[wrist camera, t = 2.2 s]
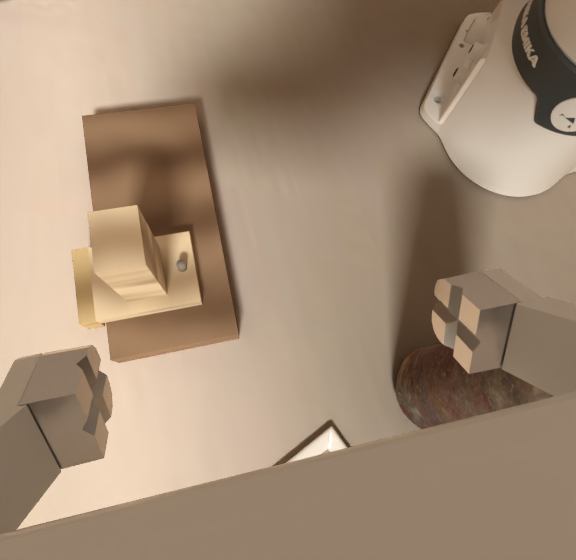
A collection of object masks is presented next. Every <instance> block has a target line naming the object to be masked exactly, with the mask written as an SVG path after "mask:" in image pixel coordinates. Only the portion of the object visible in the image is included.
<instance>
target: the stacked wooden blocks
mask: <svg viewBox="0 0 576 560" xmlns="http://www.w3.org/2000/svg"><path fill="white" fill-rule="evenodd" d="M88 220H89V229H90V238H91V247H88V248H82V249H76V250H72V258H73V268H74V277H75V287H76V297H77V307H78V317H79V324H80V325H82V326H84V327H87V328H89V329H93V328H98V327H103V326H105V323H107V322H112V321H117V320H122V319H128V318H133V317H138V316H144V315H149V314H154V313H160V312H165V311H170V310H176V309H181V308H186V307H191V306H197V305H202V299H201V293H200V287H199V282H198V276H197V270H196V264H195V259H194V253H193V247H192V241H191V236H190V233H189V231H187V232H181V233H175V234H169V235H163V236H157V237H154V236H153V234H152V232H151V230H150V228H149V226H148V224H147V222H146V221H145V219H144V217H143V215H142V213H141V211H140V209H139V207H138V206H137V205H133V206H127V207H120V208H113V209H106V210H100V211H93V212H88Z"/></svg>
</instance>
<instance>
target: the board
mask: <svg viewBox="0 0 576 560" xmlns="http://www.w3.org/2000/svg"><path fill="white" fill-rule="evenodd" d="M82 120H83V128H84V137H85V145H86V154H87V163H88V171H89V180H90V188H91V197H92V205H93V211H100V210H106V209H113V208H120V207H127V206H133V205H137V206H138V207H139V209H140V211H141V213H142V215H143V217H144V219H145V221H146V222H147V224H148V226H149V228H150V230H151V232H152V234H153V236H154V237H157V236H163V235H169V234H175V233H181V232H187V231H189V233H190V236H191V241H192V247H193V253H194V259H195V264H196V270H197V276H198V282H199V287H200V293H201V299H202V305H197V306H191V307H186V308H181V309H176V310H170V311H165V312H160V313H154V314H149V315H144V316H138V317H133V318H128V319H122V320H117V321H112V322H107V323H106V325H107V334H108V342H109V351H110V359H111V360H112V361H115V362H119V363H120V362H125V361H130V360H135V359H140V358H145V357H150V356H155V355H160V354H165V353H170V352H175V351H179V350H184V349H189V348H194V347H199V346H204V345H209V344H214V343H219V342H224V341H229V340H234V339H239V333H238V328H237V323H236V318H235V312H234V307H233V302H232V297H231V291H230V286H229V281H228V276H227V271H226V265H225V260H224V255H223V250H222V244H221V239H220V234H219V229H218V223H217V218H216V213H215V208H214V202H213V197H212V192H211V187H210V181H209V176H208V171H207V166H206V161H205V155H204V150H203V145H202V140H201V134H200V129H199V124H198V119H197V113H196V108H195V103H190V104H181V105H172V106H164V107H155V108H146V109H138V110H129V111H121V112H112V113H103V114H95V115H86V116H82Z"/></svg>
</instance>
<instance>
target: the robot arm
mask: <svg viewBox="0 0 576 560" xmlns="http://www.w3.org/2000/svg"><path fill="white" fill-rule="evenodd" d="M435 101H437V102H438V103H436V102H435ZM420 115H421V117H422V118H423V119H424V121H425V122H426V123H427V124H428V125H429V126H430V127H431V128H432V129H433V130H434V131H435V132H436V133H437V134H438V136H439V137H440V139H441V141H442V143H443V146H444V148H445V150H446V152H447V154H448V155H449V157H450V159H451V160H452V162H453V163H454V164H455V165H456V167H457V168H458V169H459V170H460V171H461V172H462V173H463V174H464V175H465V176H466V177H468V178H469V179H470V180H472V181H473V182H474V183H476V184H478V185H479V186H481V187H483V188H485V189H487V190H489V191H492V192H495V193H498V194H502V195H506V196H515V197H522V196H531V195H535V194H538V193H541V192H543V191H545V190H547V189H549V188H550V187H552V186H553V185H554V184H556V183H557V182H558V181H559V180H560V179H561V178H562V177H563V176H564V175H566V174H568V173H572V172H576V0H501V1H500V3H499V4H498V5H497V7H496V8H495V10H494V11H493V13H490V12H481V13H474V14H469V15H468V16H467V17H466V18H465V19H464V21H463V22H462V24H461V25H460V27H459V29H458V31H457V33H456V35H455V37H454V39H453V41H452V43H451V45H450V48H449V50H448V52H447V54H446V56H445V58H444V60H443V62H442V64H441V66H440V68H439V70H438V72H437V74H436V76H435V78H434V80H433V82H432V84H431V86H430V88H429V90H428V92H427V94H426V97H425V99H424V101H423V103H422V105H421V107H420ZM434 295H435V296H436V297H437V299H438V300H439V301H438V303H437V304H436V305H435V307H434V308H433V309H432V325H433V329H434V332H435V334H436V336H437V338H438V339H439V340H440V342H441V343H442V344H443V345H445V346H447V347H450V348H452V349H454V353H453V357H454V358H455V359H456V360H457V361H458V362H459V363H460V365H461V366H462V367H463V368H464V369H465V370H466V371H467V372H468V374H471V373H476V372H481V371H486V370H491V369H496V368H501V367H502V369H503V370H504V371H506V372H508V373H510V374H512V375H514V376H516V377H518V378H520V379H522V380H524V381H526V382H528V383H530V384H531V385H533V386H535V387H537V388H539V389H541V390H543V391H545V392H547V393H549V394H551V395H553V396H554V397H551V398H547V399H543V400H539V401H535V402H531V403H526V404H522V405H518V406H514V407H510V408H506V409H502V410H498V411H494V412H490V413H486V414H482V415H478V416H474V417H470V418H466V419H461V420H457V421H453V422H449V423H445V424H441V425H437V426H433V427H429V428H425V429H421V430H417V431H413V432H409V433H405V434H401V435H396V436H392V437H388V438H384V439H380V440H376V441H372V442H368V443H364V444H360V445H356V446H352V447H348V448H344V449H340V450H336V451H332V452H328V453H324V454H320V455H316V456H312V457H308V458H304V459H300V460H296V461H292V462H288V463H284V464H280V465H276V466H272V467H268V468H264V469H260V470H256V471H252V472H248V473H244V474H240V475H236V476H232V477H228V478H224V479H220V480H216V481H212V482H208V483H204V484H200V485H196V486H192V487H188V488H183V489H179V490H175V491H171V492H167V493H163V494H159V495H155V496H151V497H147V498H143V499H139V500H135V501H131V502H127V503H123V504H119V505H115V506H111V507H107V508H103V509H99V510H95V511H91V512H87V513H83V514H79V515H75V516H71V517H66V518H62V519H58V520H54V521H50V522H46V523H42V524H38V525H34V526H30V527H26V528H22V529H18V530H16V529H17V528H18V527H19V525H20V524H21V523H22V522H23V520H24V519H25V518H26V516H27V515H28V514H29V513H30V511H31V510H32V509H33V507H34V506H35V505H36V503H37V502H38V501H39V500H40V498H41V497H42V496H43V494H44V493H45V492H46V490H47V489H48V488H49V487H50V485H51V484H52V483H53V481H54V480H55V479H56V477H57V476H58V475H59V474H60V472H61V470H60V469H63V468H67V467H71V466H75V465H79V464H83V463H87V462H91V461H94V460H98V459H102V458H104V455H105V449H106V444H107V438H108V431H107V428H106V426H105V423H106V422H107V421H108V420H109V418H110V417H111V414H112V392H111V387H110V383H109V380H108V378H107V375H106V374H104V373H102V372H101V371H99V366H100V361H101V359H100V357H99V354H98V352H97V350H96V348H95V347H94V346H93V345H88V346H83V347H77V348H71V349H65V350H59V351H53V352H47V353H44V354H36V355H31V356H26V357H21V358H18V359H16V360H15V361H14V362H13V364H12V366H11V368H10V370H9V372H8V374H7V376H6V378H5V380H4V382H3V384H2V386H1V388H0V560H576V304H572V303H568V302H564V301H561V300H557V299H553V298H549V297H546V298H541V297H540V296H538V295H537V294H535V293H534V292H533V291H531V290H530V289H528V288H527V287H525V286H524V285H523V284H521V283H520V282H518V281H517V280H516V279H514V278H513V277H511V276H510V275H508V274H507V273H506V272H504V271H503V270H501V269H500V268H495V267H493V268H488V269H484V270H480V271H475V272H472V273H467V274H463V275H458V276H453V277H448V278H443V279H439V280H438V281H437V283H436V285H435V291H434Z"/></svg>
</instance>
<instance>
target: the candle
mask: <svg viewBox="0 0 576 560" xmlns="http://www.w3.org/2000/svg"><path fill="white" fill-rule="evenodd" d="M453 353H454V349H452V348H450V347H447V346H445V345H443V344H442V343H438V344H434V345H429V346H424V347H421V348H418V349H416V350H414V351H412V352H411V353H410V354H409V355H408V356H407V357H406V358H405V360H404V361H403V363H402V365H401V368H400V370H399V373H398V376H397V383H396V397H397V400H398V403H399V405H400V407H401V409H402V411H403V413H404V414H405V415H406V416H407V417H408V418H409V420H411V421H412V422H413V423H414V424H415V425H416V426H417V427H418V428H420V429H425V428H429V427H433V426H437V425H441V424H445V423H449V422H453V421H457V420H461V419H466V418H470V417H474V416H478V415H482V414H486V413H490V412H494V411H498V410H502V409H506V408H510V407H514V406H518V405H522V404H526V403H531V402H535V401H539V400H543V399H547V398H551V397H554V396H553V395H551V394H549V393H547V392H545V391H543V390H541V389H539V388H537V387H535V386H533V385H531V384H530V383H528V382H526V381H524V380H522V379H520V378H518V377H516V376H514V375H512V374H510V373H508V372H506V371H504V370H503V369H502V367H501V368H496V369H491V370H486V371H481V372H476V373H471V374H468V372H467V371H466V370H465V369H464V368H463V367H462V366H461V365H460V363H459V362H458V361H457V360H456V359H455V358H454V357H453Z"/></svg>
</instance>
